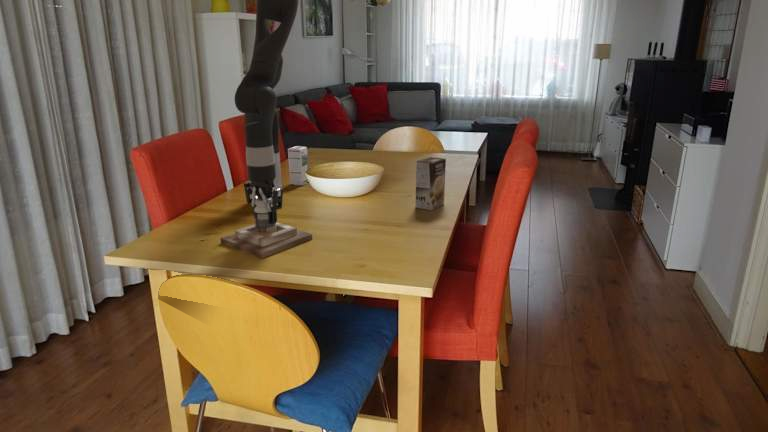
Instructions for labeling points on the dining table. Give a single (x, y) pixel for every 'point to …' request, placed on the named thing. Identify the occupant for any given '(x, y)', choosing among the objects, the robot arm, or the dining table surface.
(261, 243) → the socket block
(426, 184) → the coffee box
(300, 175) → the syrup box
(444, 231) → the dining table surface
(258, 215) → the pill bottle
